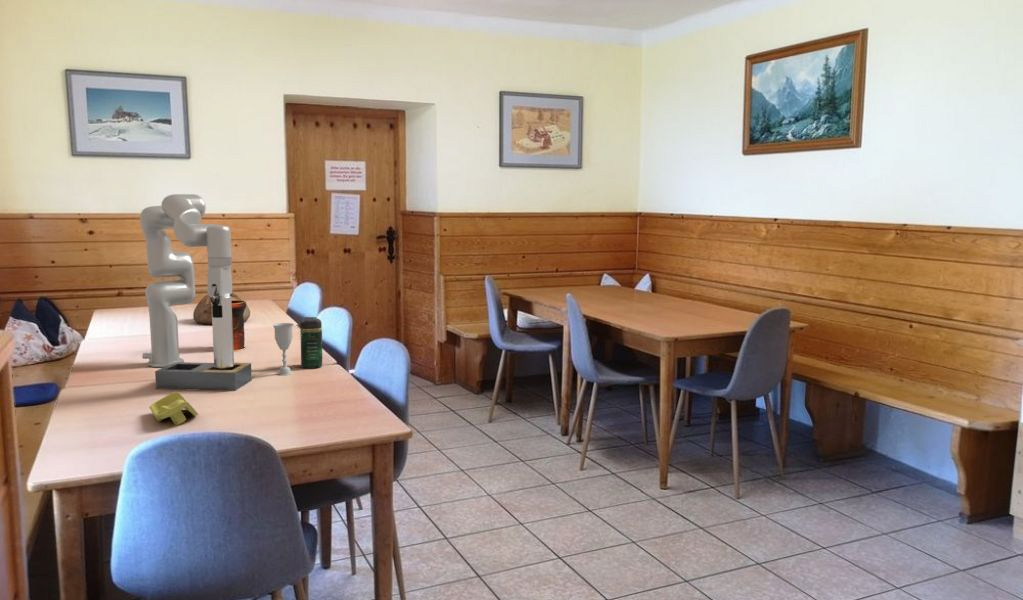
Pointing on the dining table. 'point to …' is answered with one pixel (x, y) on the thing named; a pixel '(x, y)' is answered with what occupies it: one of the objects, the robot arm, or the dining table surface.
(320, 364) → the coffee jar
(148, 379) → the dining table surface
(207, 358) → the dining table surface
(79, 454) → the dining table surface
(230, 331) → the silver long cylinder
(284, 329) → the chalice
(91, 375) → the dining table surface
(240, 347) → the vessel
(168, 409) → the plastic component
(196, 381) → the dock
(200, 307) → the bread
